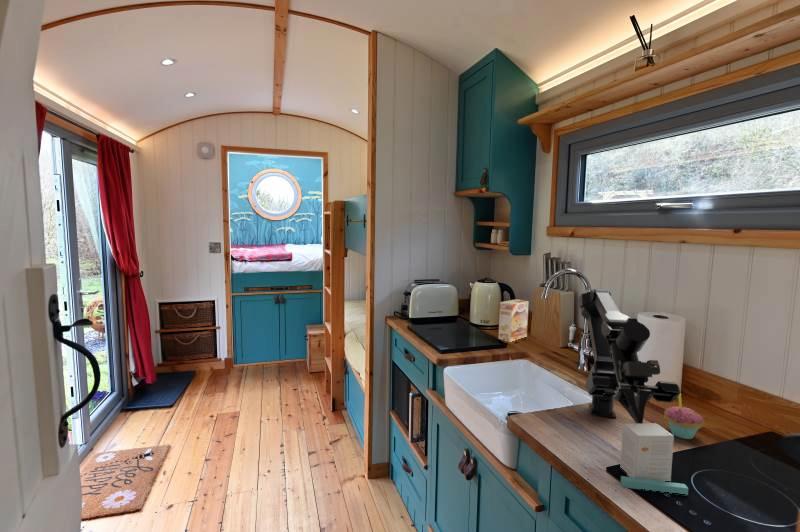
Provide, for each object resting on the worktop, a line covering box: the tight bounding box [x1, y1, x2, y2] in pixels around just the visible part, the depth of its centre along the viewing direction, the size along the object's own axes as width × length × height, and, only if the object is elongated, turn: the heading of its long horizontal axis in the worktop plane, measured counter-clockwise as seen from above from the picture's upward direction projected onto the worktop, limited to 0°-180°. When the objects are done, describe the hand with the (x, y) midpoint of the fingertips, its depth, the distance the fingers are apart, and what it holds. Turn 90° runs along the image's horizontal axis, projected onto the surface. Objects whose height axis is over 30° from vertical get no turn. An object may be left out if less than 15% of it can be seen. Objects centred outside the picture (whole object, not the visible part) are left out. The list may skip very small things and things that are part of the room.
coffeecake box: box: [497, 298, 530, 342], centre depth 194 cm, size 15×7×20 cm, turn 132°
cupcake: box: [663, 393, 704, 440], centre depth 106 cm, size 9×8×12 cm
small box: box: [619, 422, 675, 482], centre depth 88 cm, size 8×6×10 cm
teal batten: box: [620, 475, 689, 496], centre depth 83 cm, size 2×12×2 cm, turn 78°
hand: (639, 424), depth 92 cm, fingers closed
